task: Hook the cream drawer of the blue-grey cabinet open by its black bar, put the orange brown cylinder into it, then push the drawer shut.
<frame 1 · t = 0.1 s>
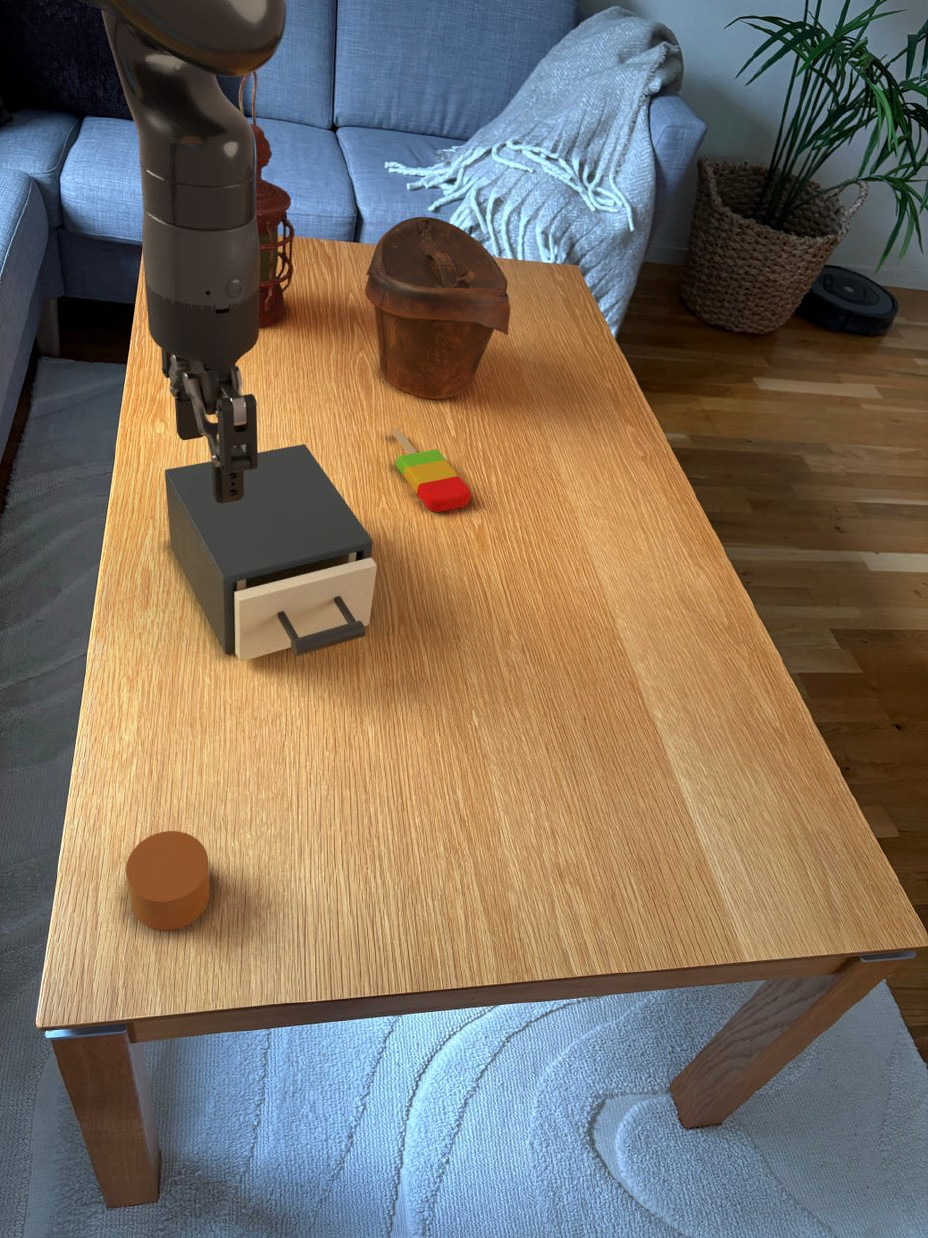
hand: (209, 467, 74), 19 cm above the table, tool pointing down, fingers open, 8 cm apart
case: (426, 376, 126), on the table
cabinet: (266, 580, 93), on the table
popsicle: (422, 473, 110), on the table
drawer: (288, 579, 87), point 5 cm above the table, slide at 1.0 cm
lantern: (247, 310, 130), on the table
orange brown cylinder: (170, 895, 69), on the table
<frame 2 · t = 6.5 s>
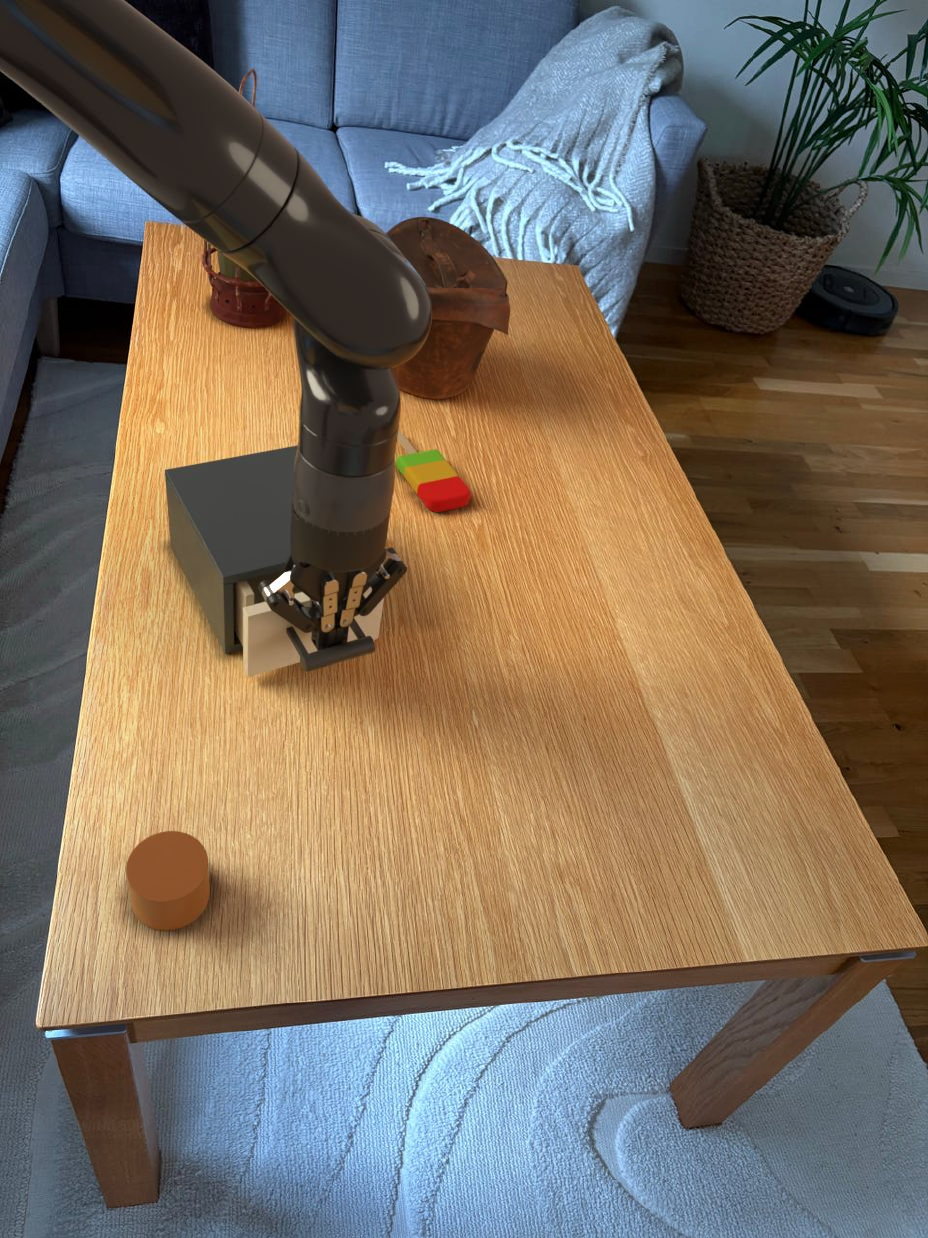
hand: (328, 649, 82), 5 cm above the table, tool pointing down, fingers closed
drawer: (296, 593, 86), point 5 cm above the table, slide at 3.0 cm, touching gripper
everything else where it was.
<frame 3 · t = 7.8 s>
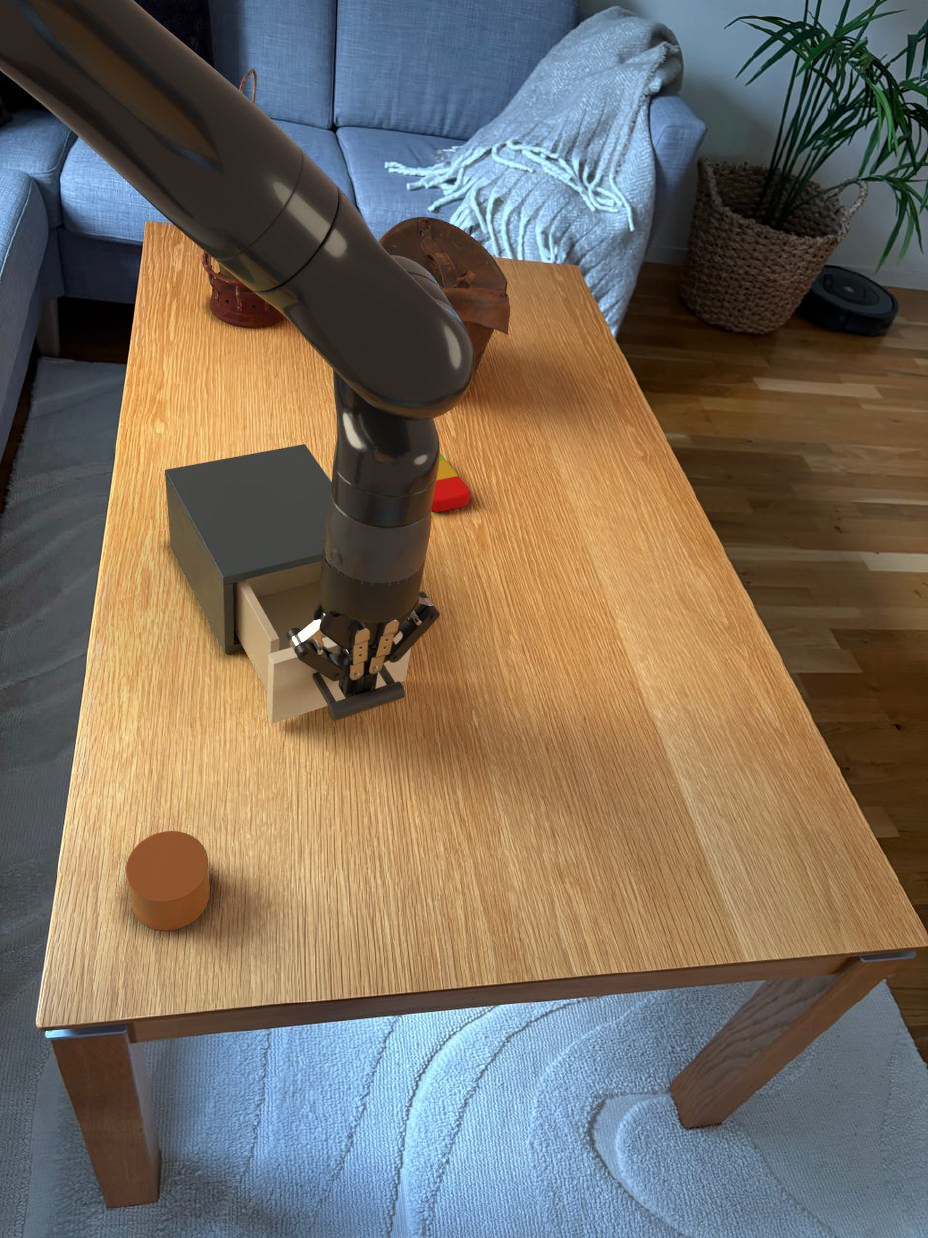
hand: (355, 695, 79), 5 cm above the table, tool pointing down, fingers closed
drawer: (321, 634, 83), point 5 cm above the table, slide at 8.7 cm, touching gripper
everything else where it was.
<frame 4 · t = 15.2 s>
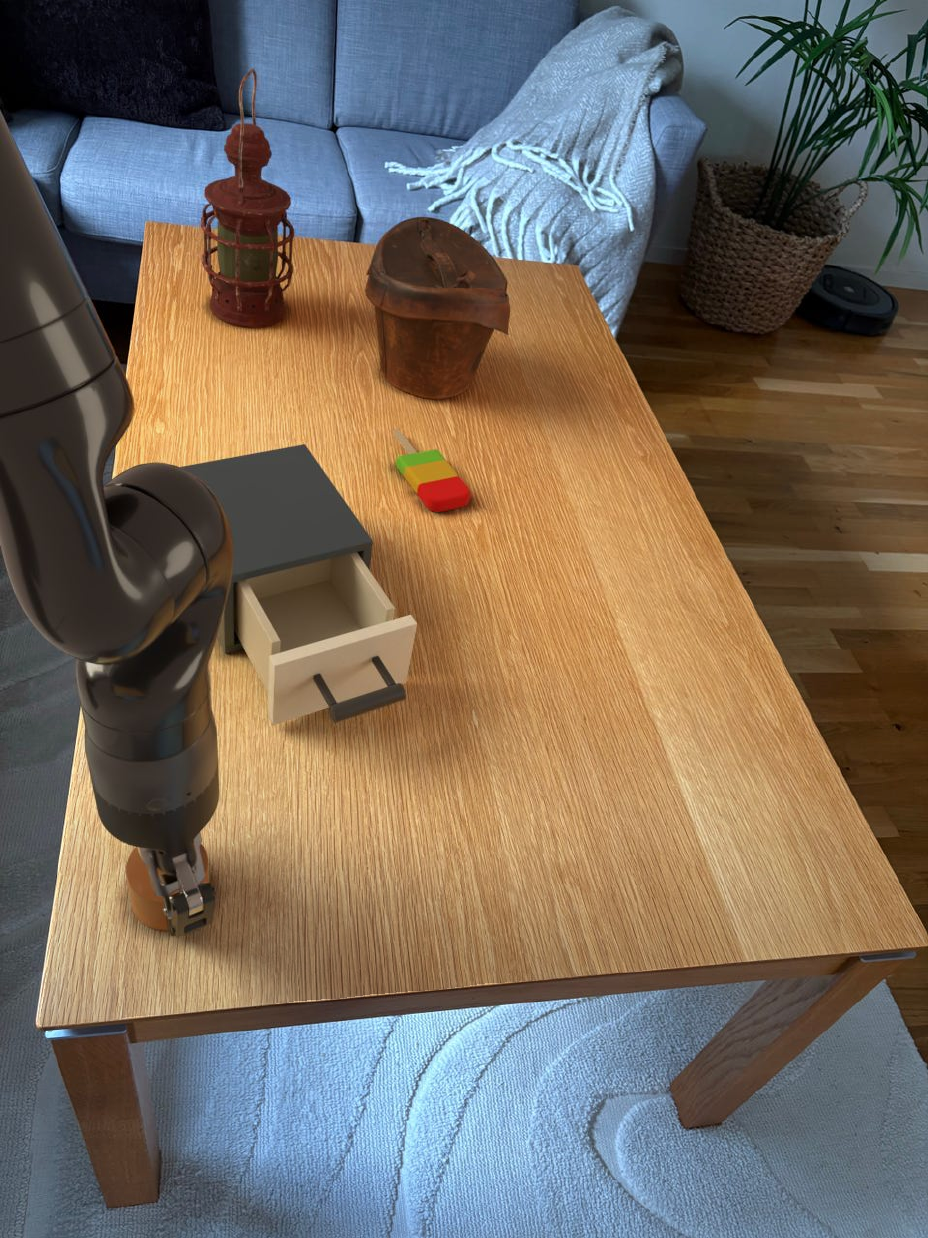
hand: (170, 891, 68), 1 cm above the table, tool pointing down, fingers closed on orange brown cylinder, 5 cm apart
drawer: (322, 636, 83), point 5 cm above the table, slide at 8.9 cm
orange brown cylinder: (170, 895, 69), on the table, touching gripper
everything else where it was.
when the fingers open (10 cm above the table, at t = 31.5 s): orange brown cylinder drops 8 cm, resting on drawer.
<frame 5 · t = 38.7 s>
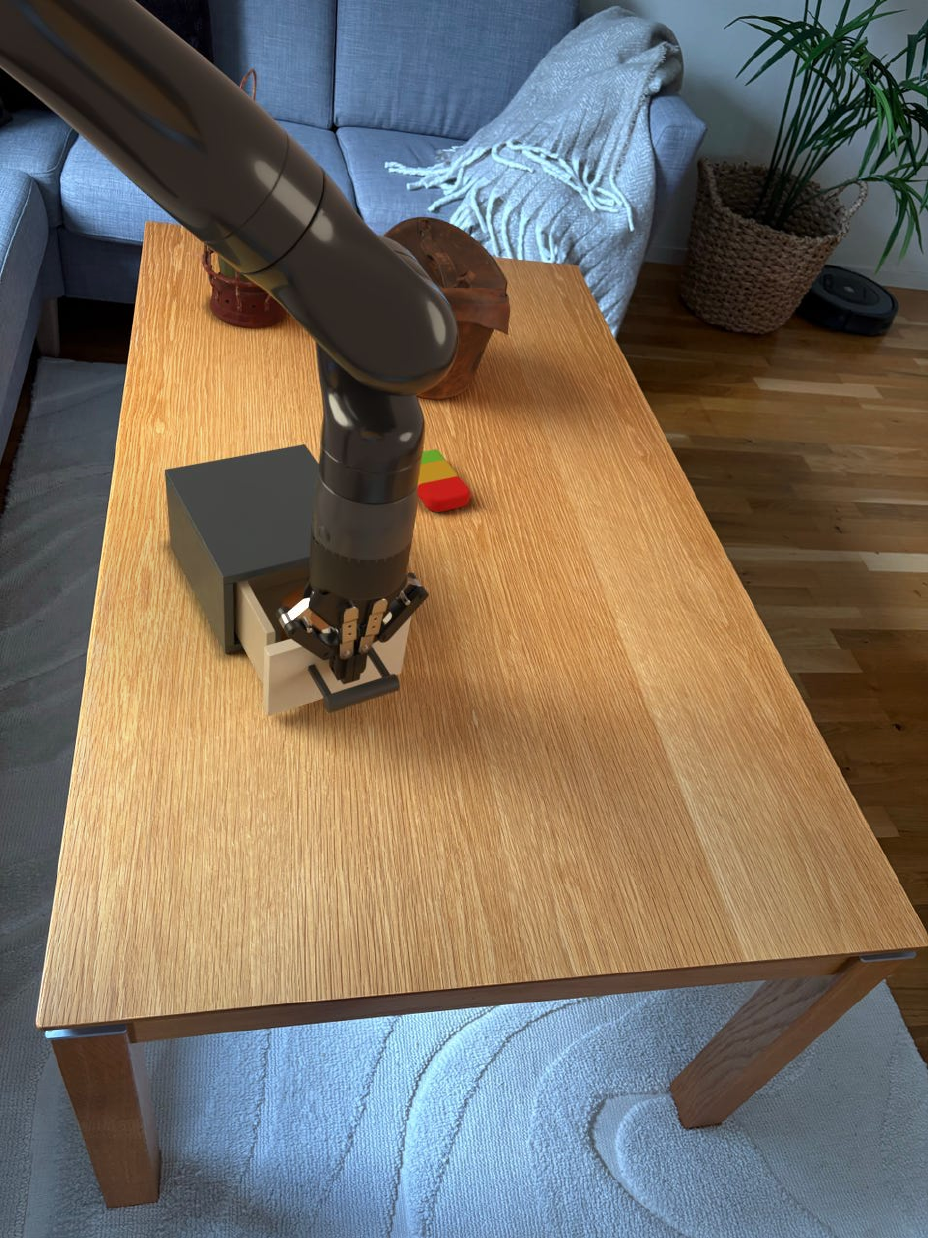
hand: (346, 675, 80), 5 cm above the table, tool pointing down, fingers closed
drawer: (317, 628, 83), point 5 cm above the table, slide at 7.8 cm, touching orange brown cylinder, gripper
orange brown cylinder: (311, 640, 86), point 2 cm above the table, touching drawer
everything else where it was.
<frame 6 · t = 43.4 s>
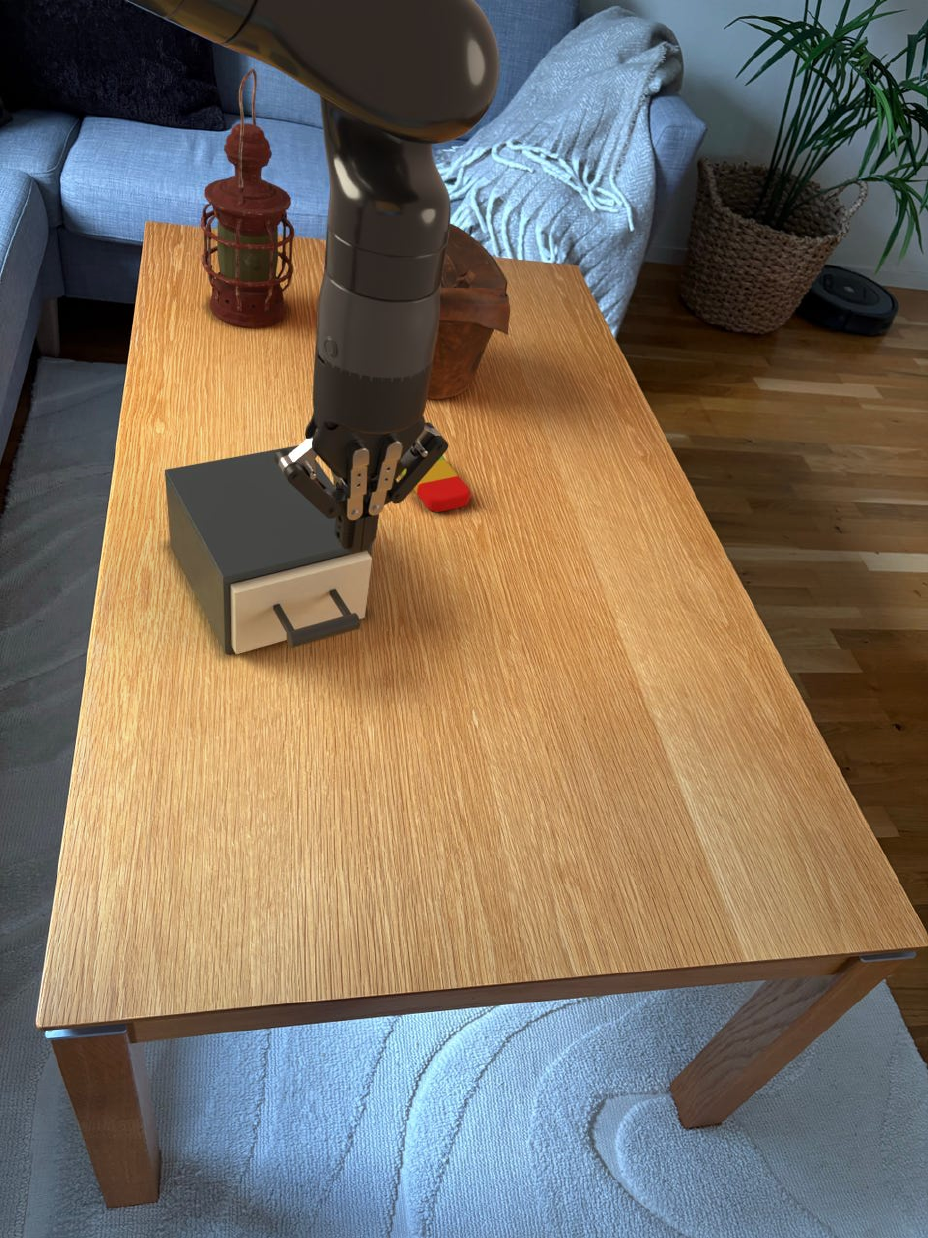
hand: (353, 545, 71), 19 cm above the table, tool pointing down, fingers closed
drawer: (283, 572, 87), point 5 cm above the table, slide at 0.0 cm, touching orange brown cylinder, cabinet
orange brown cylinder: (279, 585, 90), point 2 cm above the table, touching drawer
everything else where it was.
at the end: drawer pulled out 8.9 cm at the most during the clip, back to where it started at the end; orange brown cylinder inside the target area in the cabinet (3.2 cm from its centre), point 2.1 cm above the cabinet's base; drawer slide at 0.0 cm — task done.
